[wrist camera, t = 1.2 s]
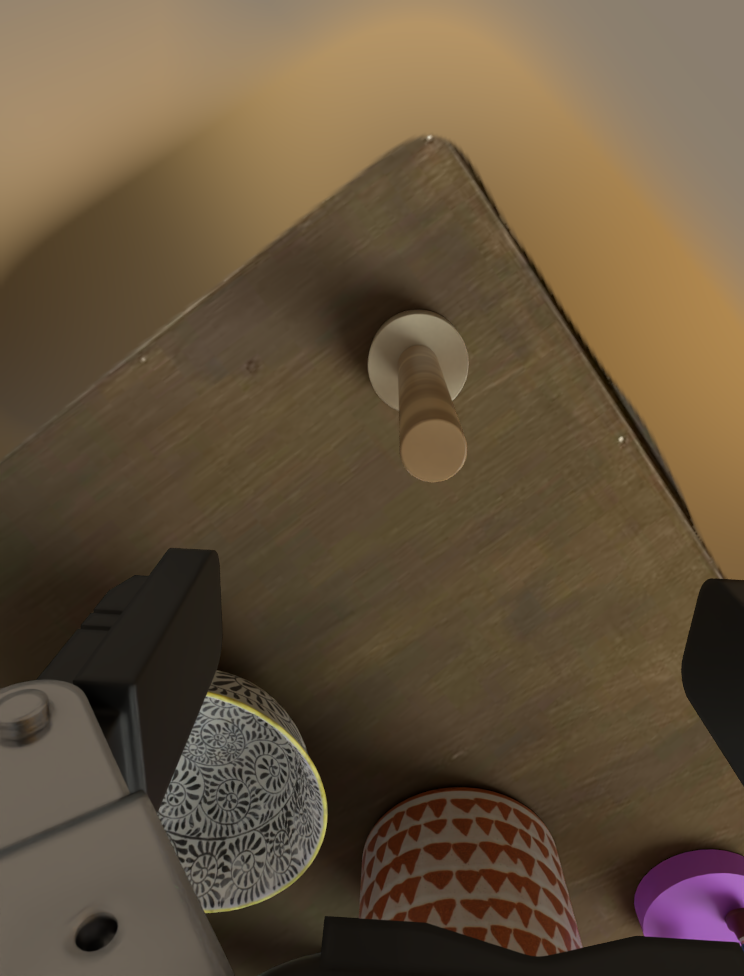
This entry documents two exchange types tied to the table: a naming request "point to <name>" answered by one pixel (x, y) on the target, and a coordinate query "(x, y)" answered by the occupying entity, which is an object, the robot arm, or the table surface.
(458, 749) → the table surface
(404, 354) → the wooden peg stand
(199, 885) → the bowl
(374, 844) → the plant pot
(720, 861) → the figurine
